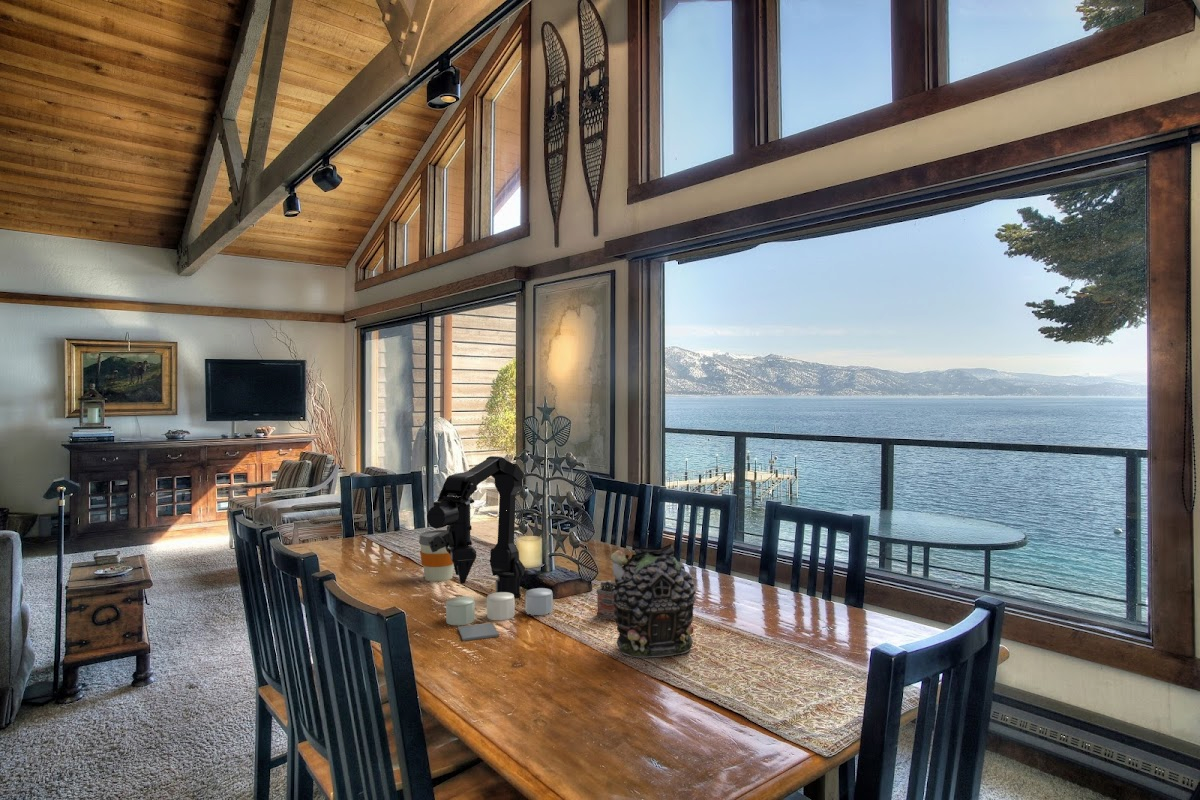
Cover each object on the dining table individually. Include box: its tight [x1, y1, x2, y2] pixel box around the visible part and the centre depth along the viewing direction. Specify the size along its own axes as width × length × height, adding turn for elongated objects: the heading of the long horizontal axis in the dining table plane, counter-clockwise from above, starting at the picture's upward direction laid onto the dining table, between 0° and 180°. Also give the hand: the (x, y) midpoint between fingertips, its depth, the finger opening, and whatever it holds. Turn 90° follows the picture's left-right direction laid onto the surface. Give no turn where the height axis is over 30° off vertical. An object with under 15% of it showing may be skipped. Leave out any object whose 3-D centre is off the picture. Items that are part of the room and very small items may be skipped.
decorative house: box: [610, 544, 697, 659], centre depth 158 cm, size 21×15×25 cm
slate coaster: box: [457, 622, 500, 642], centre depth 170 cm, size 9×9×1 cm
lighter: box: [596, 579, 615, 621], centre depth 181 cm, size 8×3×10 cm, turn 62°
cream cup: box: [486, 592, 516, 622], centre depth 183 cm, size 7×7×6 cm
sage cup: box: [445, 595, 476, 627], centre depth 180 cm, size 7×7×6 cm
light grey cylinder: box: [525, 587, 554, 616], centre depth 187 cm, size 7×7×6 cm
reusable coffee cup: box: [418, 529, 454, 583], centre depth 223 cm, size 12×13×15 cm
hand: (460, 579), depth 180 cm, fingers open, 9 cm apart
